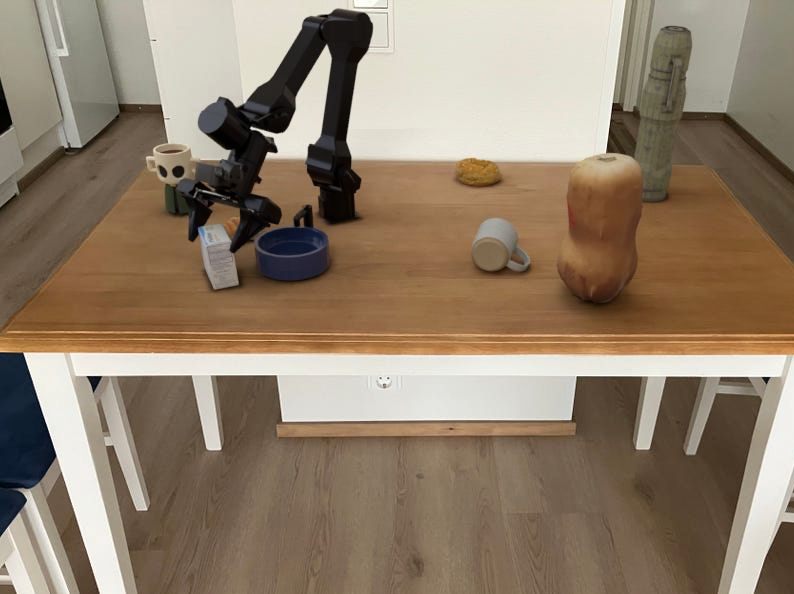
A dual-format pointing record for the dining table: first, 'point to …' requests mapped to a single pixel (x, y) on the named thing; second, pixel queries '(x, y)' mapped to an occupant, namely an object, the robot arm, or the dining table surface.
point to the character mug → (173, 171)
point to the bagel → (477, 172)
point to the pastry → (235, 227)
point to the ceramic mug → (497, 246)
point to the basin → (292, 253)
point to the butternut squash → (601, 226)
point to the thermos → (662, 109)
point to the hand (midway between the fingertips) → (210, 246)
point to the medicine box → (218, 256)
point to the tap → (304, 216)
